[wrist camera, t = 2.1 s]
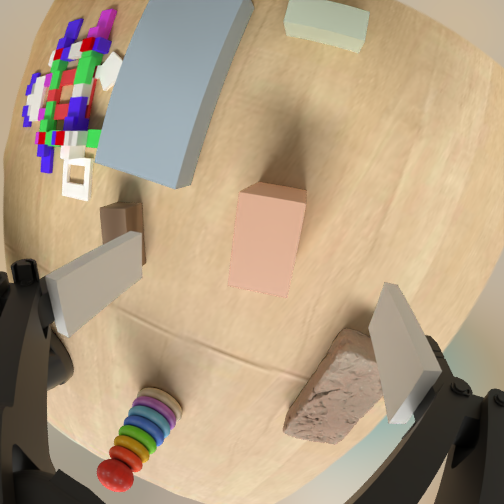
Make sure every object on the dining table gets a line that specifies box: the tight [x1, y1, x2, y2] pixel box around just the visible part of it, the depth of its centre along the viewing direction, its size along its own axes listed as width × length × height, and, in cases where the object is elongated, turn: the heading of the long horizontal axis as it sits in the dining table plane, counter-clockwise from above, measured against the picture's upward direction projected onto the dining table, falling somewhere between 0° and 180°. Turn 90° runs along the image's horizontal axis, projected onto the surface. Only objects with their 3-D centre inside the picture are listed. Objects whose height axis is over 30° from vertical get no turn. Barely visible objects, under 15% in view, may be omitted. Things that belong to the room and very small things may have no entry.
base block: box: [95, 0, 254, 189], centre depth 23 cm, size 10×20×4 cm, turn 161°
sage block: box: [283, 0, 370, 53], centre depth 18 cm, size 4×7×4 cm, turn 77°
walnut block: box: [100, 202, 146, 266], centre depth 29 cm, size 4×7×4 cm, turn 177°
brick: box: [283, 329, 384, 445], centre depth 30 cm, size 17×8×5 cm, turn 161°
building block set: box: [22, 9, 123, 201], centre depth 25 cm, size 25×20×4 cm
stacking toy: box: [97, 388, 182, 492], centre depth 31 cm, size 8×8×19 cm
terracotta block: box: [228, 182, 306, 298], centre depth 23 cm, size 4×7×8 cm, turn 172°
